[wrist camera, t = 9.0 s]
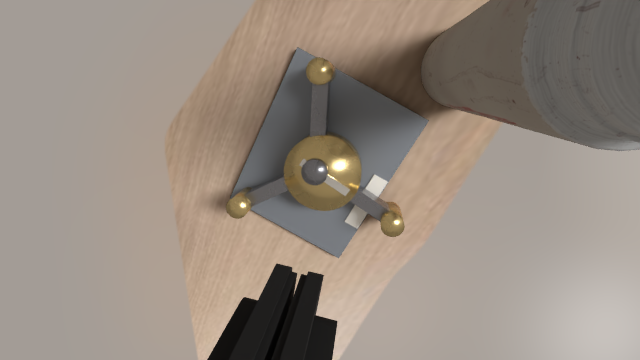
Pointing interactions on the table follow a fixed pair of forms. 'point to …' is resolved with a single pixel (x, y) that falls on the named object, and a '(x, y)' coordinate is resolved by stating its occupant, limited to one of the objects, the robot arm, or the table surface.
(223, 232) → the table surface
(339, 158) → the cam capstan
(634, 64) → the thermos bottle
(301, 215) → the board
